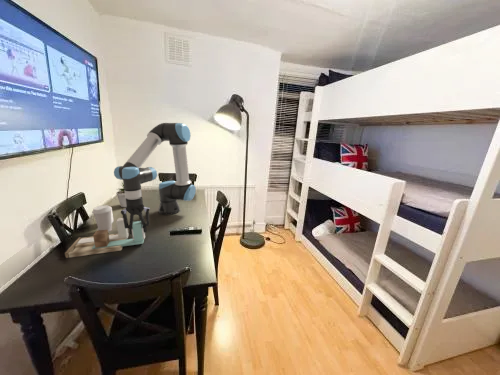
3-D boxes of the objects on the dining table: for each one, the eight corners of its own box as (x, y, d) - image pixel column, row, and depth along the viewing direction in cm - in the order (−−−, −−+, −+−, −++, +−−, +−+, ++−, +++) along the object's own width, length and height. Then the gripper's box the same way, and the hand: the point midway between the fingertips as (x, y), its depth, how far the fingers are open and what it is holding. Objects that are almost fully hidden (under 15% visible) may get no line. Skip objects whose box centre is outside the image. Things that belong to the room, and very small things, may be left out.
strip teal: (144, 239, 117) (142, 220, 115) (143, 243, 113) (140, 224, 110) (95, 245, 110) (92, 225, 107) (92, 250, 106) (88, 230, 103)
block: (109, 241, 112) (107, 229, 110) (106, 246, 107) (104, 233, 106) (98, 242, 110) (96, 230, 109) (95, 247, 106) (93, 235, 104)
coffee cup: (94, 235, 122) (90, 211, 118) (97, 228, 131) (93, 206, 127) (114, 232, 127) (110, 209, 123) (115, 226, 135) (111, 203, 131)
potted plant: (140, 204, 173) (137, 181, 168) (123, 209, 162) (119, 184, 157) (132, 201, 180) (129, 178, 174) (115, 206, 168) (111, 181, 163)
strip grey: (128, 235, 121) (126, 217, 118) (127, 239, 117) (124, 220, 114) (80, 240, 114) (76, 221, 111) (77, 245, 110) (72, 225, 107)
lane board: (127, 235, 123) (127, 231, 122) (121, 250, 108) (120, 245, 108) (79, 241, 116) (78, 237, 115) (65, 258, 101) (64, 253, 100)
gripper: (152, 194, 114) (156, 233, 120) (116, 196, 109) (122, 237, 115) (151, 198, 107) (155, 239, 113) (112, 201, 102) (119, 244, 108)
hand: (139, 238), depth 114 cm, fingers closed on strip teal, 4 cm apart
